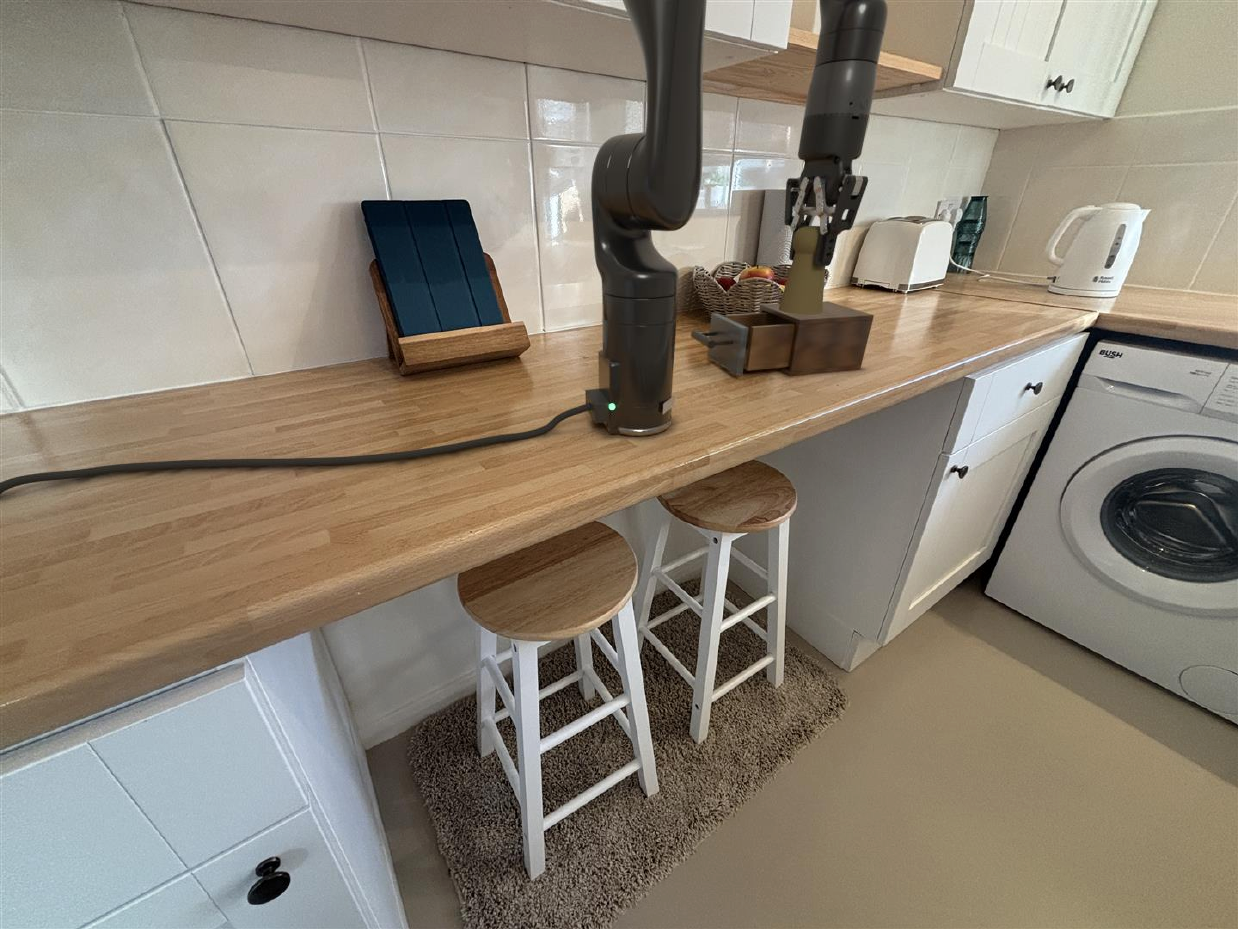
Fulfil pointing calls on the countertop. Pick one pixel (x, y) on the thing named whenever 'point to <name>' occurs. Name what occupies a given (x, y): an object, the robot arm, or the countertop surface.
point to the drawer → (748, 341)
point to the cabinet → (826, 339)
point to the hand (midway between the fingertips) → (808, 262)
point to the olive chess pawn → (804, 276)
